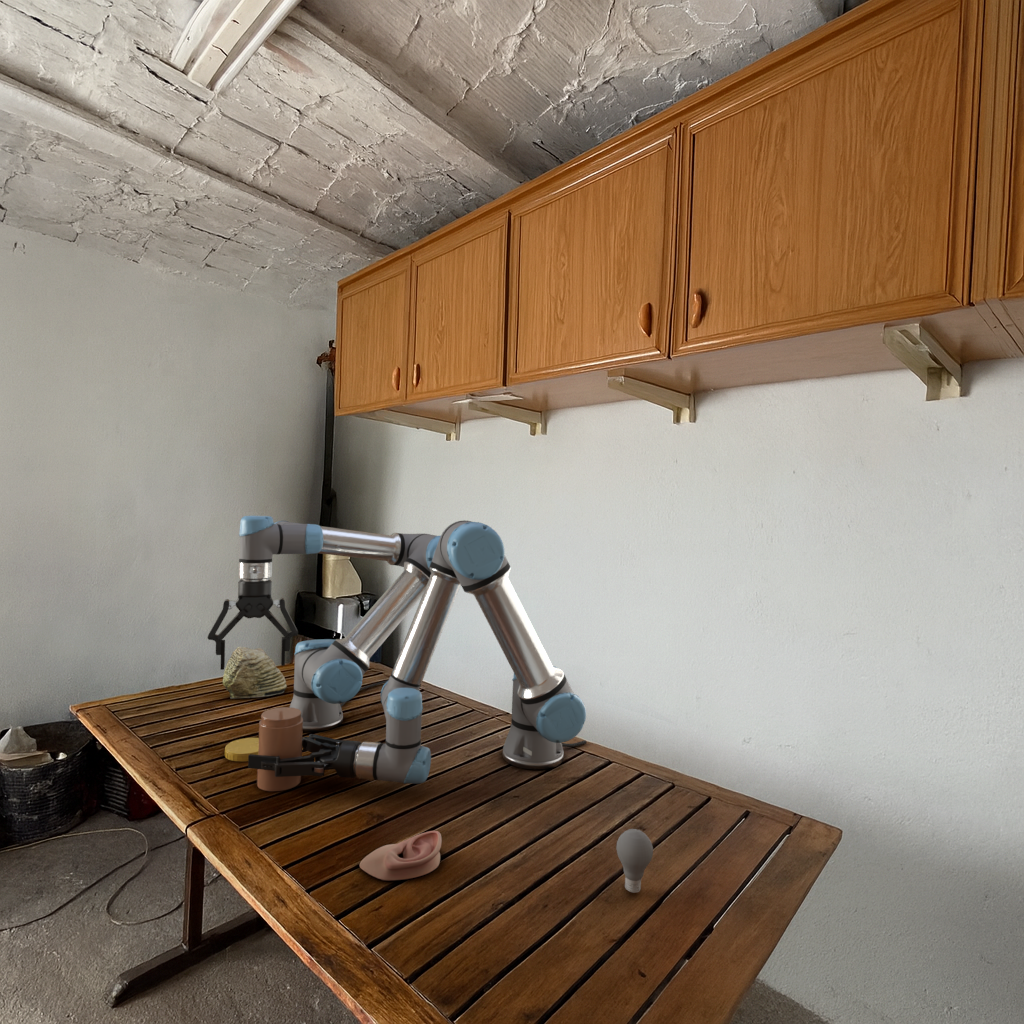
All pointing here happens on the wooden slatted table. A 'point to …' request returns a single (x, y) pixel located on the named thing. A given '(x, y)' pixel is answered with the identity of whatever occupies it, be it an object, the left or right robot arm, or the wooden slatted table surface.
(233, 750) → the lid
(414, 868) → the anatomical model
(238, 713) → the wooden slatted table surface
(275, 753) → the jar
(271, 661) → the fossil
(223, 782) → the wooden slatted table surface
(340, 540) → the left robot arm
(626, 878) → the light bulb
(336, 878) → the wooden slatted table surface
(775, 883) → the wooden slatted table surface
